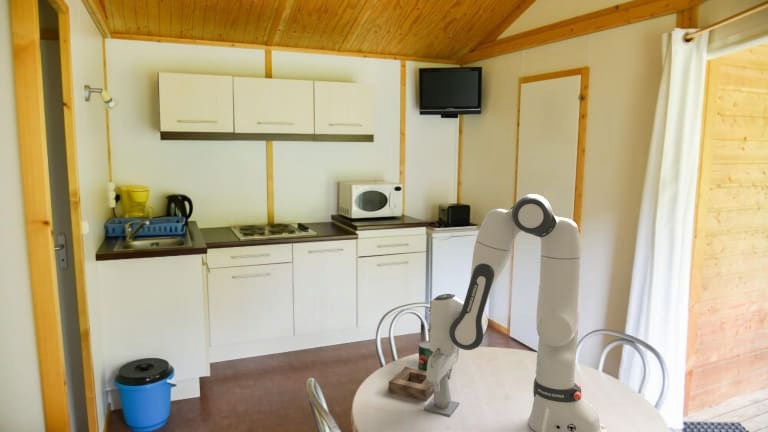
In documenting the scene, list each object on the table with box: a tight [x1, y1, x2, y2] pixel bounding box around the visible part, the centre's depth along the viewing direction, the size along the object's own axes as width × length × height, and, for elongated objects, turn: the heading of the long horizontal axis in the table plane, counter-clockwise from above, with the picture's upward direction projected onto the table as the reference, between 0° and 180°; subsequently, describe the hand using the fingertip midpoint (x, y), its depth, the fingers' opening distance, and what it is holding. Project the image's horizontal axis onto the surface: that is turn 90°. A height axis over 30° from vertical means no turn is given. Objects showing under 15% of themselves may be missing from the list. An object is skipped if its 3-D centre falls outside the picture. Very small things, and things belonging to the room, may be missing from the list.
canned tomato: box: [417, 340, 433, 371], centre depth 191 cm, size 8×8×11 cm
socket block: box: [388, 366, 435, 402], centre depth 177 cm, size 14×14×4 cm
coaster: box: [423, 397, 460, 417], centre depth 165 cm, size 9×9×1 cm
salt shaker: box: [432, 369, 452, 408], centre depth 164 cm, size 6×6×13 cm
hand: (442, 384), depth 164 cm, fingers open, 8 cm apart
